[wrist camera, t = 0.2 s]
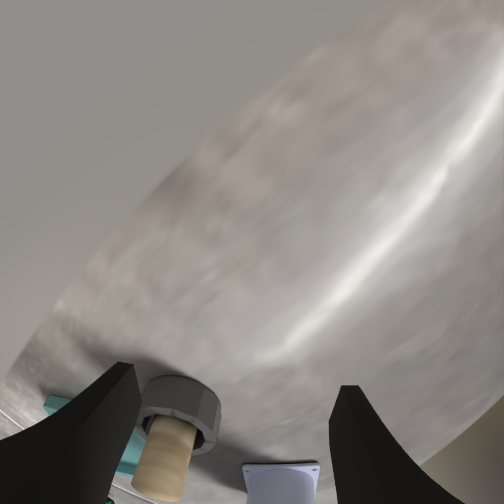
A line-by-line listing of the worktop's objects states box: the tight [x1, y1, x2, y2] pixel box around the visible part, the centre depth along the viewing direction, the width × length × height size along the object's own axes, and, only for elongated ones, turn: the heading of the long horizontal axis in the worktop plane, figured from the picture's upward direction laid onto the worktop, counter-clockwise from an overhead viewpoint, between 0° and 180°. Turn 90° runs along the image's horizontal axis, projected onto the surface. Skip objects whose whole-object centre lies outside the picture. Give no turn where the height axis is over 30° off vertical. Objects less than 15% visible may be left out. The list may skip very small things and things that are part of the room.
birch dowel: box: [131, 414, 197, 502], centre depth 20 cm, size 4×4×8 cm
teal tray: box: [43, 395, 146, 477], centre depth 28 cm, size 12×12×2 cm
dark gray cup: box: [135, 375, 221, 456], centre depth 23 cm, size 7×7×4 cm
